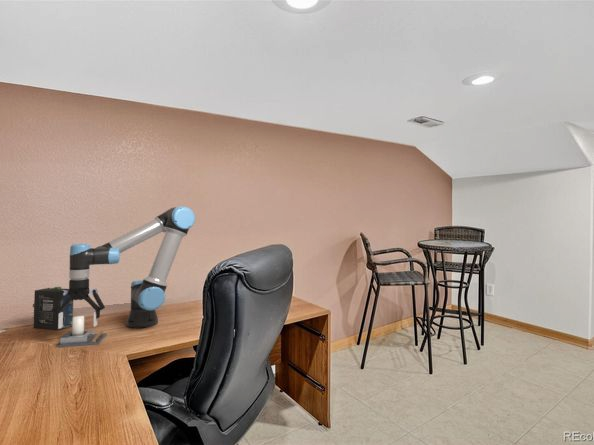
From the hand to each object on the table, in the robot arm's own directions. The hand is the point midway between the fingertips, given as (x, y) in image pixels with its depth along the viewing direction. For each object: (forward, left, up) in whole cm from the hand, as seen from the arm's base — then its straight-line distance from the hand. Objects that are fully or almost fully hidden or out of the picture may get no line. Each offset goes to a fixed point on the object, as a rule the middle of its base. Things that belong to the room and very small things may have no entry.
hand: (78, 326), depth 150 cm
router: (+19, -27, -7) cm, 34 cm away
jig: (-2, 0, -7) cm, 7 cm away
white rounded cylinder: (0, 0, -6) cm, 6 cm away
